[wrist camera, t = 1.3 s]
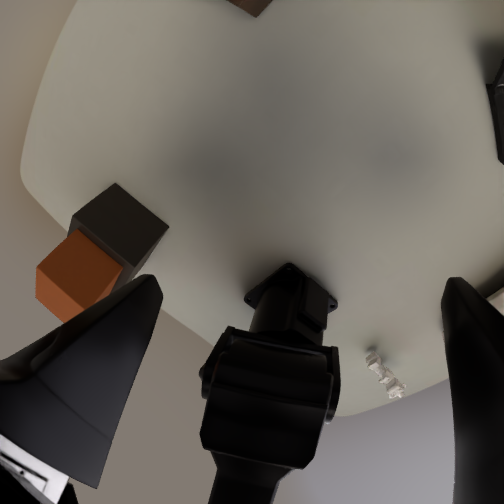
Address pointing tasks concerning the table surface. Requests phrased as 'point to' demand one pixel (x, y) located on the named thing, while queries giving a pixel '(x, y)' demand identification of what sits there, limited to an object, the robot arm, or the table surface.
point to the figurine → (385, 376)
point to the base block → (251, 5)
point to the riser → (120, 230)
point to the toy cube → (75, 276)
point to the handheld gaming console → (498, 109)
